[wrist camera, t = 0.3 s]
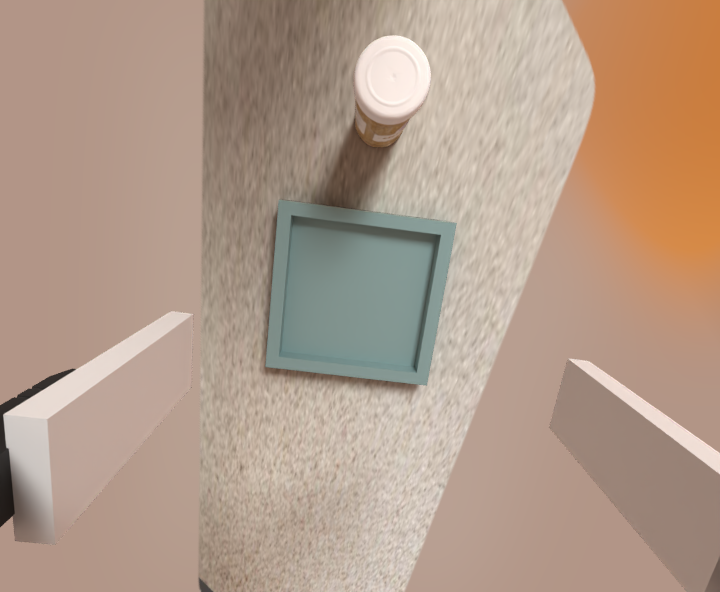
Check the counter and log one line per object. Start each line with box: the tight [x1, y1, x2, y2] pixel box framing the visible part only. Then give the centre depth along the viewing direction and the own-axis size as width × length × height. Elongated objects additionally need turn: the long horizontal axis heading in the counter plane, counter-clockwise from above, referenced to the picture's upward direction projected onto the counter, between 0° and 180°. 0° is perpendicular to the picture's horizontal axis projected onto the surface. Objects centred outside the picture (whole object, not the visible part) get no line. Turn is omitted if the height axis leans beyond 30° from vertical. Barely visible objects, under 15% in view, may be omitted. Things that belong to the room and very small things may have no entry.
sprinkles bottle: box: [354, 35, 431, 147], centre depth 30 cm, size 5×5×13 cm
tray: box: [265, 200, 457, 385], centre depth 39 cm, size 16×16×2 cm
